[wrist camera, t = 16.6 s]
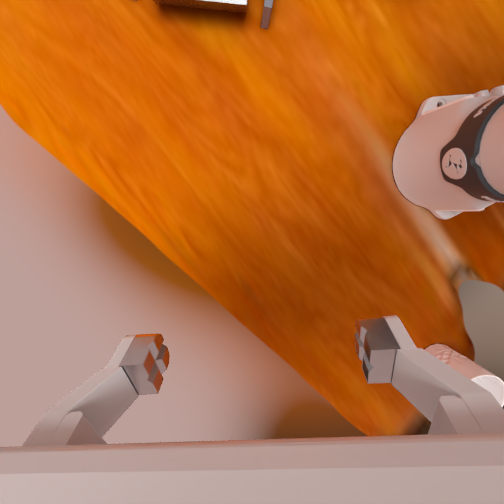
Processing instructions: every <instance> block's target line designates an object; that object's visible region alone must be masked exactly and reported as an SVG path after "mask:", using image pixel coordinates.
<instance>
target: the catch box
mask: <svg viewBox="0 0 504 504" xmlns="http://www.w3.org/2000/svg"><path fill="white" fill-rule="evenodd" d="M136 1H137V0H136ZM272 4H273V0H265V2H264V9H263V16H262V23H261V28H264V29H268V25H269V20H270V15H271V10H272Z"/></svg>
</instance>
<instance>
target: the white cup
mask: <svg viewBox="0 0 504 504" xmlns="http://www.w3.org/2000/svg"><path fill="white" fill-rule="evenodd" d="M424 350H425V351H427V352H428V353H430V354H431V355H433V356H434V357H436V358H437V359H439V360H441V361H442V362H444V363H445V364H447V365H448V366H450V367H452V368H453V369H455V370H456V371H458V372H459V373H461V374H462V375H464V376H466V377H467V378H469V379H470V380H472V381H473V382H475V383H477V384H478V385H480V386H481V387H483V388H484V389H486V390H487V391H489V392H491V393H492V395H493V396H494V397H495V399H496V400H497V401H498V403H499V404H500V405H501V407H503V405H504V382H503V381H502V380H501V379H500V378H498V377H496V376H495V375H494V374H492V373H490V372H489V371H487V370H486V369H484V368H482V367H481V366H479V365H478V364H476V363H475V362H473V361H472V360H470V359H468V358H467V357H465V356H463V355H462V354H460V353H457V352H456V351H454V350H453V349H451V348H449V347H448V346H446V345H443V344H434V345H430V346H429V347H427V348H426V349H424Z"/></svg>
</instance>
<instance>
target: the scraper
mask: <svg viewBox="0 0 504 504" xmlns="http://www.w3.org/2000/svg"><path fill="white" fill-rule="evenodd" d="M153 1H154V2H155V3H156V4H163V5H173V6H183V7H192V8H202V9H212V10H221V11H231V12H240V13H247V2H248V0H153Z"/></svg>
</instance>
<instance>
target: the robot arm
mask: <svg viewBox="0 0 504 504" xmlns="http://www.w3.org/2000/svg"><path fill="white" fill-rule="evenodd" d="M437 104H439V107H437ZM393 175H394V179H395V182H396V185H397V187H398V189H399V190H400V192H401V193H402V194H403V196H404V197H405V198H407V199H408V200H409V201H410V202H412V203H414V204H416V205H418V206H421V207H424V208H427V209H428V210H430V212H431V213H432V214H433V215H434V216H436V217H437V218H438V219H441V220H444V219H450V218H452V217H454V216H456V215H458V214H460V213H462V212H464V211H482V210H484V209H485V207H488V206H490V205H492V204H494V203H496V202H504V85H502V86H498V87H495V88H493V89H491V91H490V93H489V90H482V91H479V92H476V93H475V94H464V95H450V96H436V97H431V98H428V99H426V100H424V101H423V103H422V104H421V106H420V108H419V111H418V113H417V116H416V118H415V120H414V121H413V123H412V124H411V125H410V126H409V127H408V128H407V129H406V131H405V132H404V133H403V135H402V136H401V138H400V140H399V142H398V144H397V146H396V149H395V152H394V157H393ZM355 326H356V329H357V332H356V333H355V346H356V351H357V354H358V357H359V359H361V360H362V361H363V364H362V369H363V371H364V374H365V377H366V380H367V383H391V384H392V385H393V386H394V387H395V388H396V389H397V390H398V391H399V392H400V393H401V394H402V395H403V396H404V397H405V398H406V399H408V400H409V401H410V402H411V403H412V404H413V405H414V406H415V407H416V408H417V409H418V410H419V411H420V412H421V413H422V414H423V415H424V416H425V417H426V418H427V419H428V420H430V421H431V422H432V424H431V427H430V430H429V433H428V435H401V436H367V437H336V438H334V437H333V438H298V439H264V440H229V441H197V442H195V441H194V442H159V443H125V444H107V443H106V442H105V441H104V440H103V438H102V437H103V436H104V435H105V433H106V432H107V431H108V430H109V429H110V428H111V427H112V426H113V425H114V423H115V422H116V421H117V420H118V419H119V418H120V417H121V416H122V414H123V413H124V412H125V411H126V410H127V409H128V408H129V407H130V405H131V404H132V403H133V402H134V401H135V400H136V399H137V398H138V395H146V394H158V392H159V390H160V386H161V384H162V381H163V377H162V373H163V372H164V371H165V370H167V367H168V364H169V351H168V348H167V347H166V346H165V345H163V344H162V343H163V340H164V339H163V337H162V335H161V334H141V335H127V336H125V337H124V338H123V339H122V341H121V342H120V344H119V346H118V348H117V349H116V351H115V353H114V354H113V356H112V358H111V359H110V361H109V363H108V365H107V366H106V367H105V368H101V369H100V370H99V371H98V372H96V373H95V374H94V375H92V376H91V377H90V378H89V379H87V380H86V381H85V382H83V383H82V384H81V385H80V386H78V387H77V388H76V389H74V390H73V391H72V392H70V393H69V394H68V395H67V396H65V397H64V398H63V399H61V400H60V401H59V402H58V403H56V404H55V405H54V406H52V407H51V408H50V409H49V410H47V411H46V412H45V414H44V415H43V416H42V418H41V419H40V421H39V422H38V424H37V425H36V427H35V428H34V430H33V431H32V432H31V434H30V435H29V437H28V438H27V440H26V441H25V443H24V444H23V446H19V447H18V446H17V447H0V504H504V409H502V407H501V405H500V404H499V403H498V401H497V400H496V399H495V397H494V396H493V395H492V393H491V392H489V391H487V390H486V389H484V388H483V387H481V386H480V385H478V384H477V383H475V382H473V381H472V380H470V379H469V378H467V377H466V376H464V375H462V374H461V373H459V372H458V371H456V370H455V369H453V368H452V367H450V366H448V365H447V364H445V363H444V362H442V361H441V360H439V359H437V358H436V357H434V356H433V355H431V354H430V353H428V352H427V351H425V350H423V349H422V348H417V347H416V346H415V344H414V342H413V341H412V339H411V337H410V336H409V334H408V332H407V330H406V329H405V327H404V325H403V324H402V322H401V320H400V319H399V317H398V316H396V315H395V316H383V317H371V318H360V319H356V324H355Z"/></svg>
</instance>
